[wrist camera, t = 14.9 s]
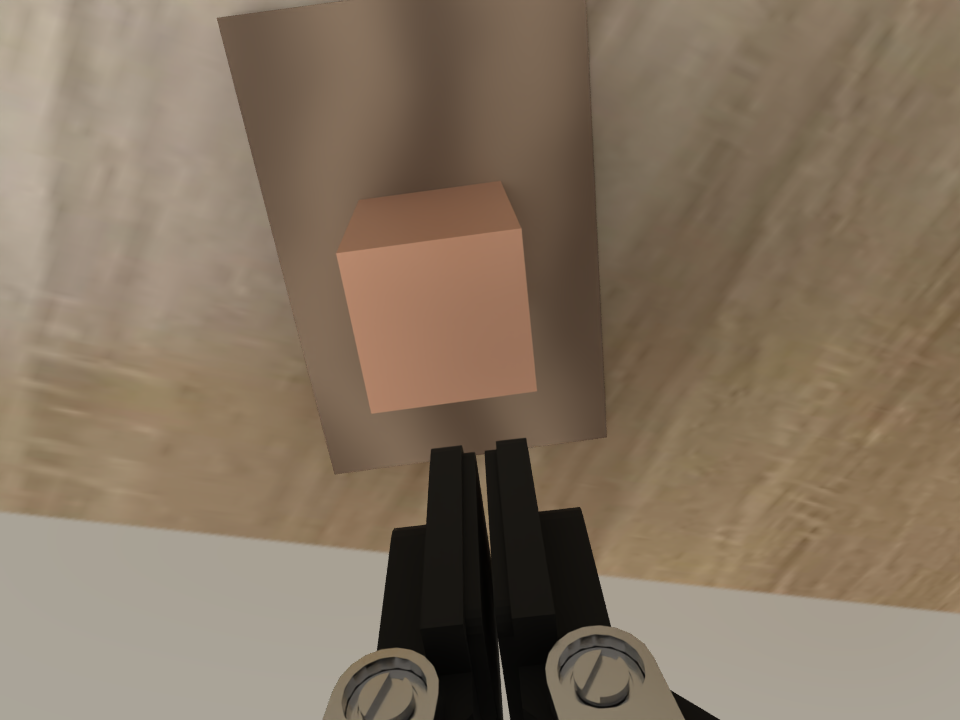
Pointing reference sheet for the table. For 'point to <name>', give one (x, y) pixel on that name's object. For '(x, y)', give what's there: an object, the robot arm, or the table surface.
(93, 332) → the table surface
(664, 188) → the table surface
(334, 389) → the flat brown rectangular board
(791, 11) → the table surface
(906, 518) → the table surface
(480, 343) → the salmon orange block
